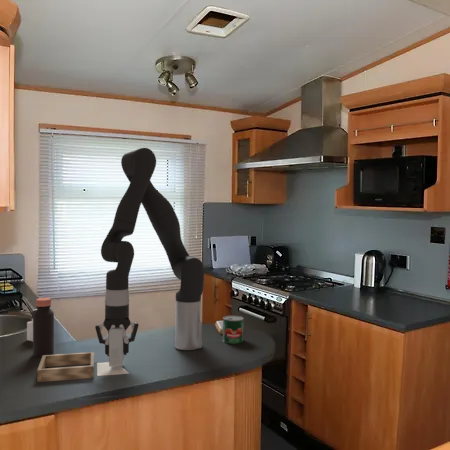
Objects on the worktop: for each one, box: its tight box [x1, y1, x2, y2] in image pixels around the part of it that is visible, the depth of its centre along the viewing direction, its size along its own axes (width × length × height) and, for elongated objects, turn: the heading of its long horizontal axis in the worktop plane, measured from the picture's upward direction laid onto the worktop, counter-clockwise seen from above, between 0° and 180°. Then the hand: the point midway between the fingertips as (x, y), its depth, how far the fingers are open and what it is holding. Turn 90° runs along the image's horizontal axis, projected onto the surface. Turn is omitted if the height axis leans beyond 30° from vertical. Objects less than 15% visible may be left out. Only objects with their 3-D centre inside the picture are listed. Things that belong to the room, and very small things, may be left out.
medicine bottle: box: [26, 308, 37, 343], centre depth 179 cm, size 7×7×12 cm
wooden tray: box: [36, 351, 95, 383], centre depth 144 cm, size 16×14×4 cm
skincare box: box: [108, 328, 126, 367], centre depth 148 cm, size 6×4×12 cm
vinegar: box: [32, 297, 55, 359], centre depth 160 cm, size 7×7×20 cm
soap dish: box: [214, 320, 223, 336], centre depth 191 cm, size 12×10×5 cm
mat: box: [96, 361, 129, 377], centre depth 149 cm, size 12×12×1 cm
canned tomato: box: [222, 315, 245, 345], centre depth 176 cm, size 8×8×11 cm
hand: (116, 354), depth 148 cm, fingers closed on skincare box, 4 cm apart
